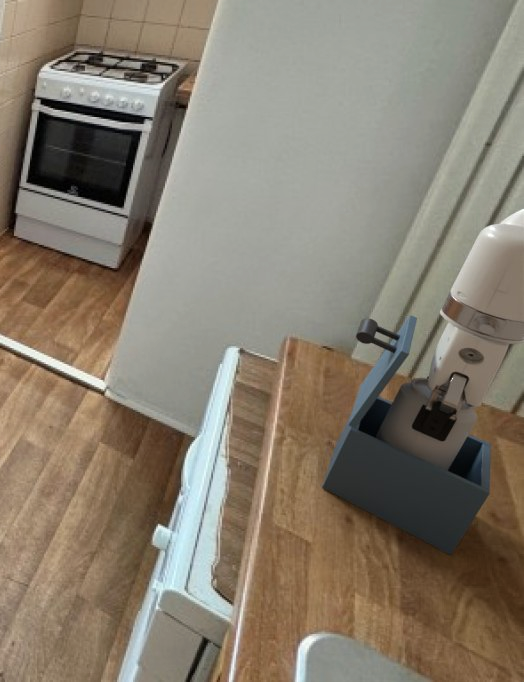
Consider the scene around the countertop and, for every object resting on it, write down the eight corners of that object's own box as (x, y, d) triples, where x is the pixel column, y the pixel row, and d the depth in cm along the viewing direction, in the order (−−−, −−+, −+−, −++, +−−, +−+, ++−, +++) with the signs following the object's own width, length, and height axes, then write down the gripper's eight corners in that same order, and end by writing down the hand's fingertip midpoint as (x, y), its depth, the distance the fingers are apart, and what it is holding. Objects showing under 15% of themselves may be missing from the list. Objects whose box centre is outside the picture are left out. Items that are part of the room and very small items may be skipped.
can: (451, 462, 86) (488, 397, 82) (438, 488, 82) (477, 421, 78) (381, 427, 92) (412, 365, 88) (366, 450, 88) (398, 386, 84)
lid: (417, 317, 87) (372, 299, 91) (409, 354, 80) (360, 332, 83) (366, 388, 94) (326, 369, 97) (354, 428, 86) (311, 406, 90)
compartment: (455, 502, 89) (491, 443, 85) (450, 555, 82) (489, 493, 77) (335, 445, 98) (362, 389, 94) (321, 487, 91) (350, 429, 87)
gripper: (531, 361, 70) (465, 471, 77) (528, 303, 81) (470, 404, 87) (439, 329, 75) (385, 435, 82) (448, 279, 86) (399, 375, 92)
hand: (430, 418), depth 84 cm, fingers closed on can, 7 cm apart
